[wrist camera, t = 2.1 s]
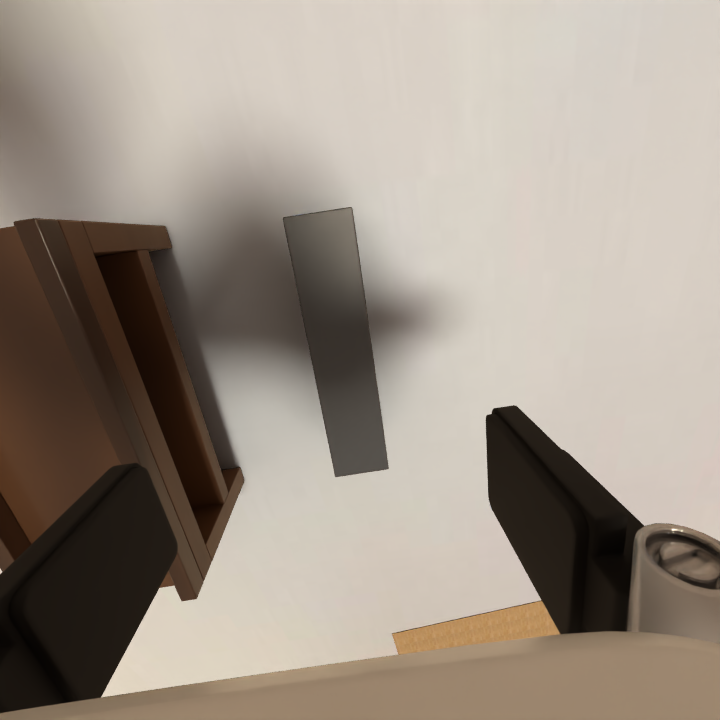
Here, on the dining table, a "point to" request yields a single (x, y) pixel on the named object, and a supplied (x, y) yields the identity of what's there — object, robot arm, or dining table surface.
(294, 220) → the case
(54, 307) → the shelf
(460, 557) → the dining table surface
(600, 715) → the robot arm
